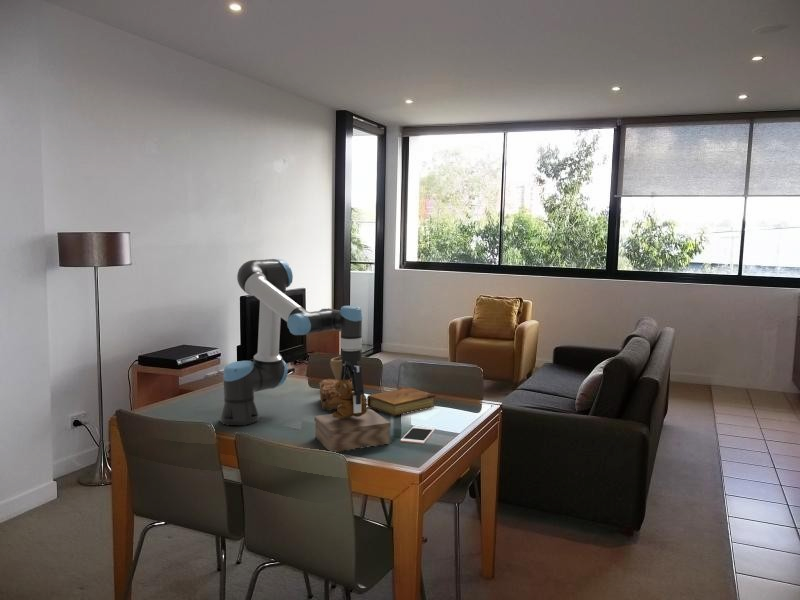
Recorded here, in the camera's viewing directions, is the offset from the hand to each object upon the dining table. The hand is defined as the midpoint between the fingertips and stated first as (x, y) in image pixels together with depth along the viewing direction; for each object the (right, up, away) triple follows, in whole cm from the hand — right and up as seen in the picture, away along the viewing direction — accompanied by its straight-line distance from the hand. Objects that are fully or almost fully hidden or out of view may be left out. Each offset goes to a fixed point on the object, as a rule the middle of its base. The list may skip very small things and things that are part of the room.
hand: (351, 408), depth 231 cm
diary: (+18, -8, +46) cm, 50 cm away
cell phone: (+24, -12, +8) cm, 28 cm away
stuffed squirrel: (0, -3, +1) cm, 3 cm away
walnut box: (0, -12, +1) cm, 12 cm away
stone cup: (-9, -4, +80) cm, 81 cm away
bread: (-12, -7, +49) cm, 51 cm away
